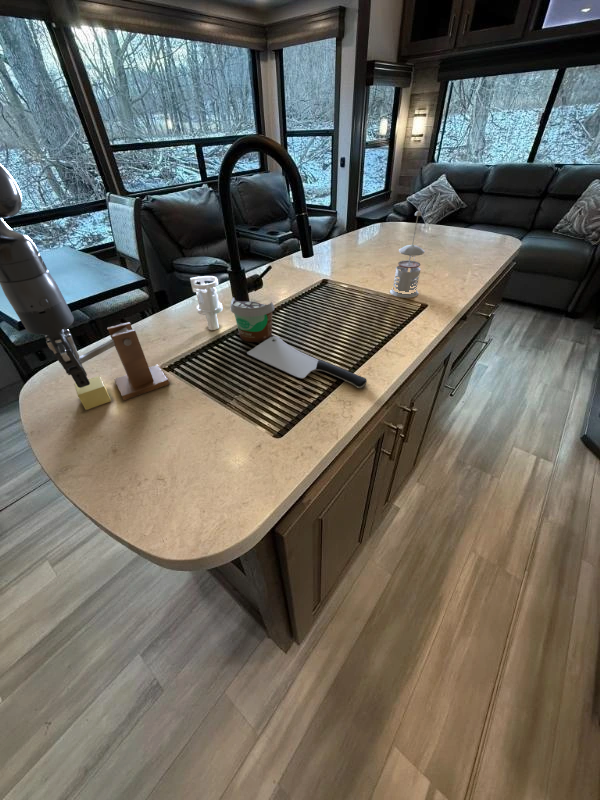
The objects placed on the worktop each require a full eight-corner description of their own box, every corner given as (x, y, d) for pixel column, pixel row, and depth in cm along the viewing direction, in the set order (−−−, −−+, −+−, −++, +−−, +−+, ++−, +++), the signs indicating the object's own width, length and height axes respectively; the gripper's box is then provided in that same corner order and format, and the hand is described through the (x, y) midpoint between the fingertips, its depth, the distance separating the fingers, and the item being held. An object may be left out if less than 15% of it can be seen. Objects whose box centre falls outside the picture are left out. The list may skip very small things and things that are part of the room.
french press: (387, 295, 113) (399, 213, 98) (393, 284, 122) (405, 206, 106) (416, 299, 110) (434, 214, 95) (421, 287, 119) (437, 207, 103)
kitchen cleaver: (245, 350, 85) (272, 332, 90) (247, 356, 86) (273, 337, 91) (345, 400, 69) (371, 374, 73) (345, 405, 70) (371, 380, 75)
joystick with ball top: (71, 378, 65) (59, 366, 63) (69, 371, 67) (57, 359, 65) (136, 342, 69) (127, 330, 67) (132, 336, 71) (123, 324, 69)
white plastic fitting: (198, 325, 99) (187, 274, 89) (221, 320, 101) (212, 270, 92) (205, 335, 94) (193, 282, 84) (228, 329, 96) (220, 277, 87)
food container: (226, 340, 91) (220, 305, 85) (237, 330, 96) (232, 296, 89) (267, 347, 88) (264, 311, 82) (276, 336, 92) (274, 302, 86)
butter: (111, 401, 71) (104, 386, 69) (85, 410, 69) (77, 395, 67) (106, 389, 75) (99, 375, 72) (82, 398, 72) (74, 383, 70)
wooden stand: (123, 400, 71) (98, 344, 63) (115, 383, 76) (90, 328, 68) (169, 384, 76) (151, 329, 67) (159, 368, 81) (140, 315, 72)
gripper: (12, 294, 60) (59, 372, 71) (13, 321, 51) (66, 406, 62) (58, 284, 63) (96, 360, 74) (67, 308, 54) (109, 391, 65)
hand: (82, 381), depth 68 cm, fingers closed on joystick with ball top, 3 cm apart
